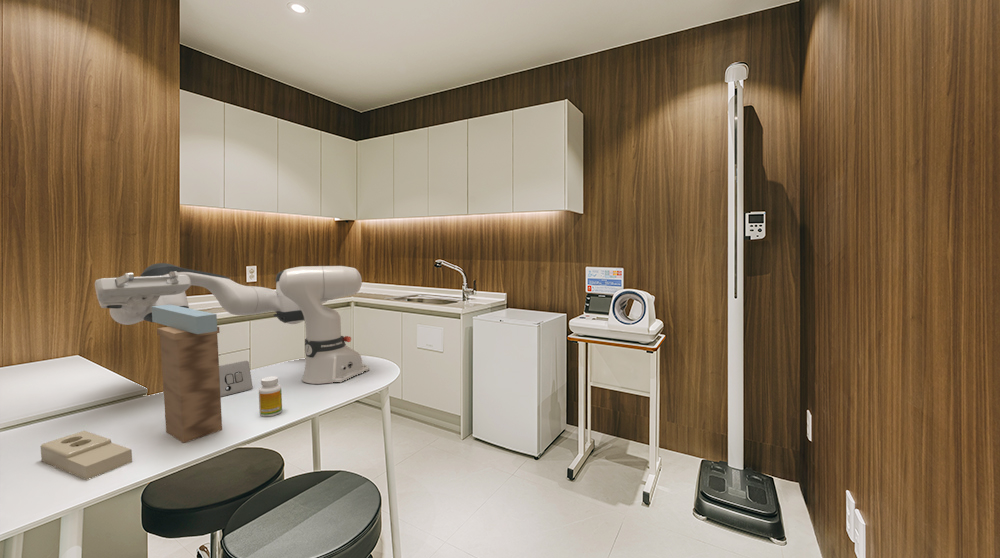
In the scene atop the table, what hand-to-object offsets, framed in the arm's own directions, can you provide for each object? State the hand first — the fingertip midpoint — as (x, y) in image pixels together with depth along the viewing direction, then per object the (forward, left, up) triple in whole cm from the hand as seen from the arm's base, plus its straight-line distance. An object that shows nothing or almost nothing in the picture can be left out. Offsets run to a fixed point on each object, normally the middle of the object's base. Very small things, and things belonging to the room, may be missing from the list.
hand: (152, 274), depth 108 cm
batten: (+1, +20, -12) cm, 24 cm away
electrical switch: (-17, +2, -38) cm, 42 cm away
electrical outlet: (+19, +20, -38) cm, 48 cm away
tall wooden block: (+1, +23, -38) cm, 44 cm away
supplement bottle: (-15, +28, -38) cm, 50 cm away
